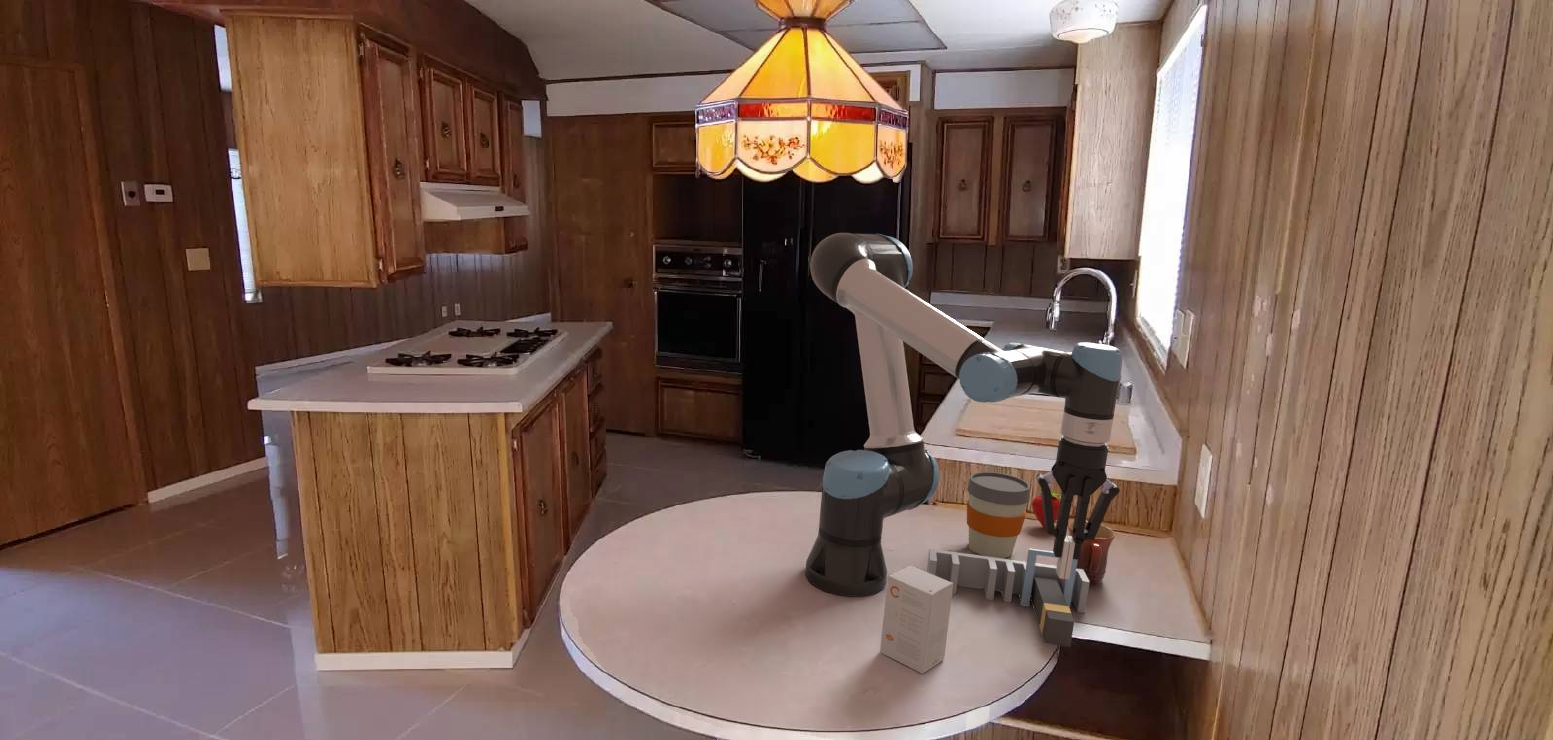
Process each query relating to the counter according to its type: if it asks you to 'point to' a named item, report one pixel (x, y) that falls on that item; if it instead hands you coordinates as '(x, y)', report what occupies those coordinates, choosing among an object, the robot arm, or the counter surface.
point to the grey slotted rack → (998, 575)
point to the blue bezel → (1030, 573)
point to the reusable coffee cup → (995, 512)
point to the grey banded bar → (1052, 611)
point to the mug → (1094, 553)
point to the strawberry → (1038, 507)
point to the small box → (916, 618)
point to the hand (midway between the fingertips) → (1062, 575)
